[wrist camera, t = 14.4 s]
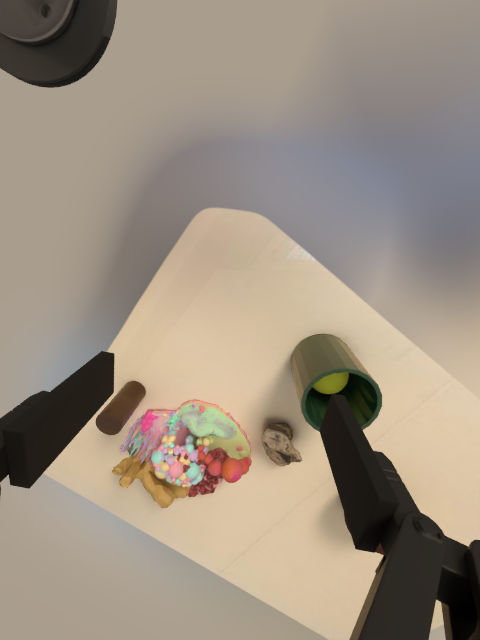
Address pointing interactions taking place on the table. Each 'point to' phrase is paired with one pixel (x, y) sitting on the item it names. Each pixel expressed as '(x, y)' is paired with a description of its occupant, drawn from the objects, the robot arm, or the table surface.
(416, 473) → the table surface
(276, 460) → the rock
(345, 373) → the ball
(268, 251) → the table surface
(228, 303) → the table surface
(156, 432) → the candy landscape model
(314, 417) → the tube
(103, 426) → the post
